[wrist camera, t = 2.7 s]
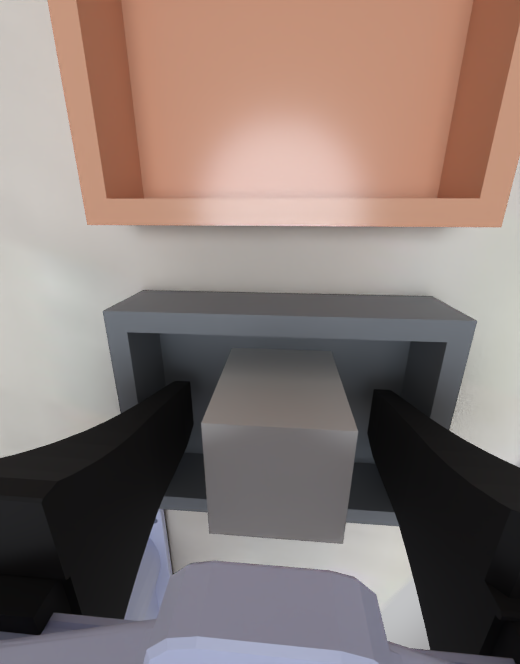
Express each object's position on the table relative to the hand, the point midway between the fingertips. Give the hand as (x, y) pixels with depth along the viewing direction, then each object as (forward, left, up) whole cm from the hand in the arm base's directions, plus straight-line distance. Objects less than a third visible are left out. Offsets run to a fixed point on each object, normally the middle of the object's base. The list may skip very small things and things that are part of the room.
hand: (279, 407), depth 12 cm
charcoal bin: (0, 0, -2) cm, 2 cm away
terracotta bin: (+11, 0, -2) cm, 11 cm away
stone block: (0, 0, -1) cm, 1 cm away
